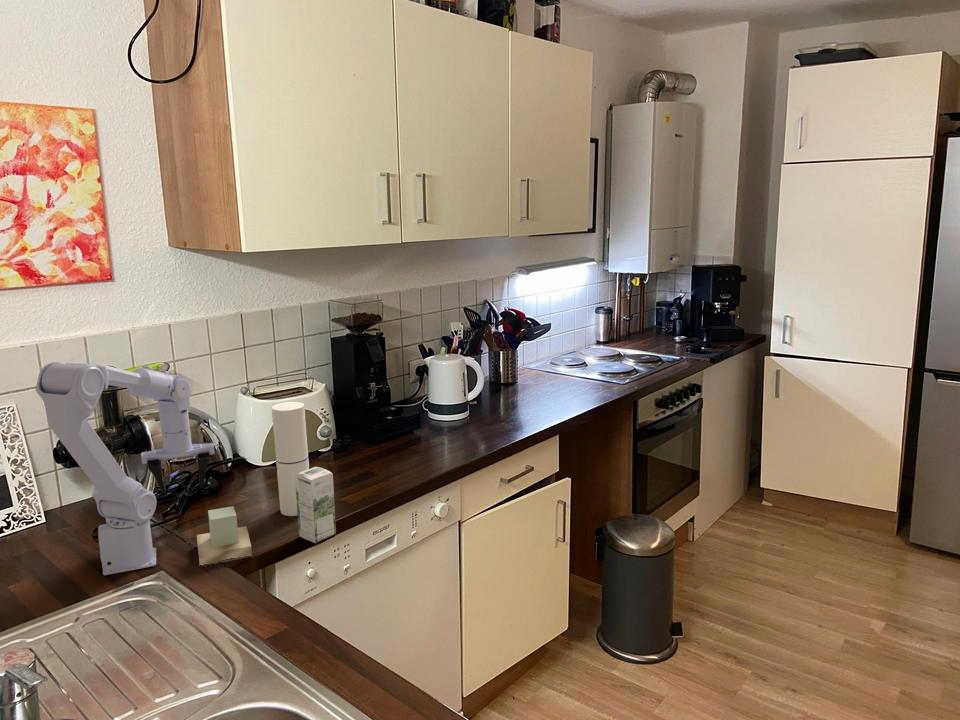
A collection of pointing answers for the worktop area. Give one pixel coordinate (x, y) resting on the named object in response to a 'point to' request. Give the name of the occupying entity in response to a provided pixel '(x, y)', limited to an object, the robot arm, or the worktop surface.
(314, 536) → the syrup box
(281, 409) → the cylindrical container
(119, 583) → the worktop surface
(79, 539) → the worktop surface
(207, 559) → the birch base
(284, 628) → the worktop surface
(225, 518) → the sage block
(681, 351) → the worktop surface
